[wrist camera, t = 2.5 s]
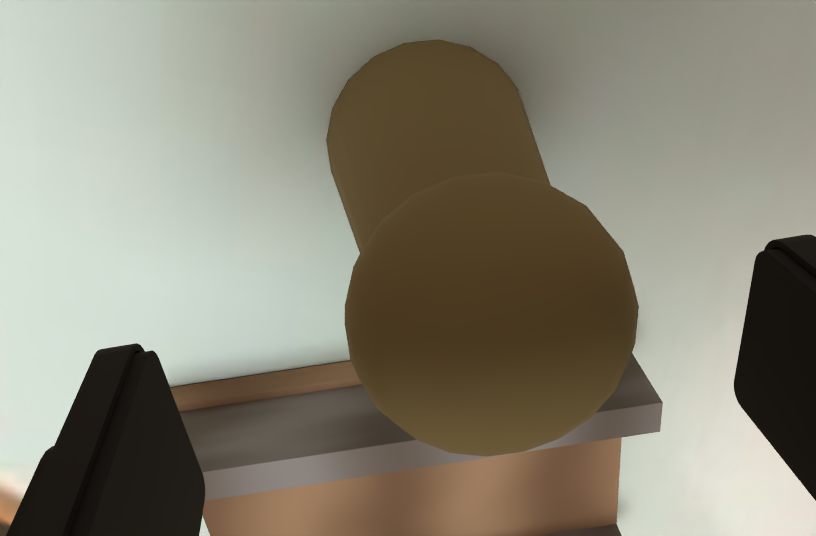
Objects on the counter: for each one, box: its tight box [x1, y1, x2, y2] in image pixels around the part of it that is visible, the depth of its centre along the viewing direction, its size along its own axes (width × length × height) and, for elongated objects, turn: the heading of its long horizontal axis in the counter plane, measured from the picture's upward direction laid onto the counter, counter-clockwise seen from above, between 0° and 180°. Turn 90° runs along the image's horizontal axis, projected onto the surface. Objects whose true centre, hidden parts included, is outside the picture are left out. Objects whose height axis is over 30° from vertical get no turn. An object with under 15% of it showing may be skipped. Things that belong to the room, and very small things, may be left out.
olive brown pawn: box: [326, 40, 639, 457], centre depth 16 cm, size 6×6×11 cm
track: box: [170, 354, 663, 536], centre depth 25 cm, size 16×11×4 cm
